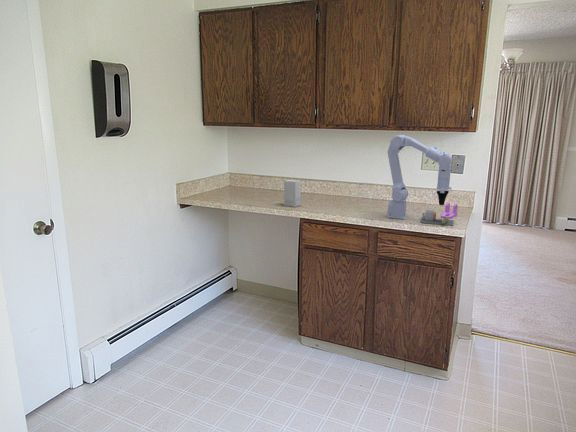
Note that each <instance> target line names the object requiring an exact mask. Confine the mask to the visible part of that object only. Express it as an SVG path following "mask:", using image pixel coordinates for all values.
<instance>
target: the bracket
mask: <svg viewBox="0 0 576 432" xmlns="http://www.w3.org/2000/svg"><path fill="white" fill-rule="evenodd" d="M458 207H459V205H458V203H453V206H452V212H451V211H450V209H451V203H450V202H446V203H445V207H444V213H442V214H441V215H440V219H444V217H449V220H453V219H454V218H455V217H457V215H458Z"/></svg>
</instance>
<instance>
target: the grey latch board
mask: <svg viewBox="0 0 576 432" xmlns="http://www.w3.org/2000/svg"><path fill="white" fill-rule="evenodd" d="M421 218H423V217H422V216H421ZM444 218H447V217H444ZM419 223H420V224H428V225H436V226H437V225H439V226H448V225H449V226H450V227H454V220H453V219H449V220H448V221H447V222H445V223H442V221H425V220H421V219H420V221H419Z"/></svg>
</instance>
